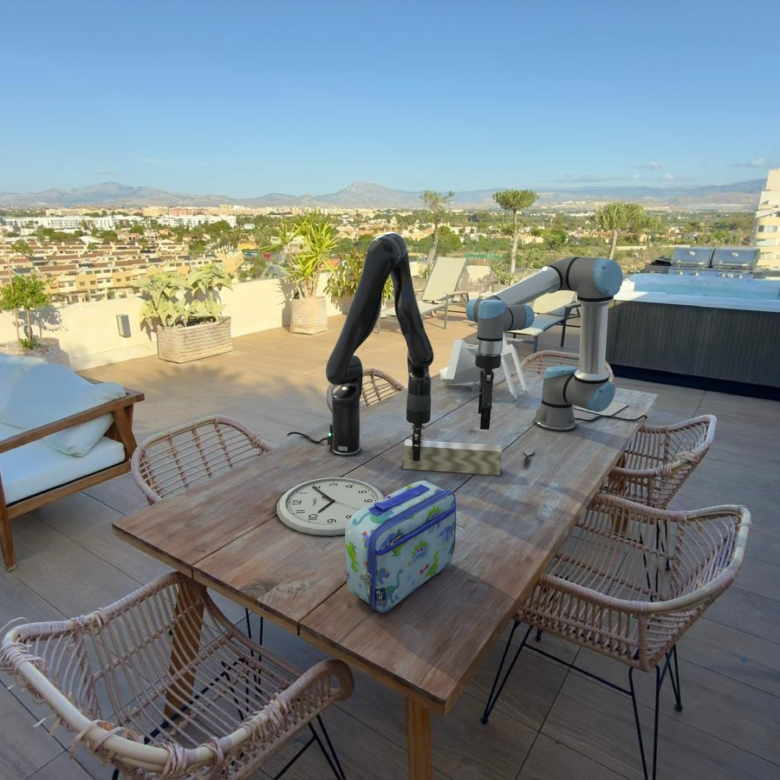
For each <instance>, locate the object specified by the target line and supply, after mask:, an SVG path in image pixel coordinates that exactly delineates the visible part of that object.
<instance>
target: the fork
mask: <svg viewBox="0 0 780 780" xmlns="http://www.w3.org/2000/svg"><path fill="white" fill-rule="evenodd" d="M533 451H534V446H530V445H528V444H526V446H525V450H524V454H525V455H526V456H525V458H524V466H523V467H524V468H526V466H527V464H528V462H529V456H531V455H533V453H534V452H533Z"/></svg>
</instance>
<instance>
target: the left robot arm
mask: <svg viewBox="0 0 780 780" xmlns="http://www.w3.org/2000/svg"><path fill="white" fill-rule="evenodd" d="M409 257H410V256H409V251H408V245H407V243H406V241H405V239H404V238H403V236H402V235H401V234H399V233H398V232H395V231H394V232H393V231H390V232H386V233H383V234H381V235H378V236H377V237H375V238H374V239H373V240H371V242H370V244H369V245H368V248H367V251H366V255H365V258H364V264H363V268H362V272H361V275H360V279H359V281H358V284H357V287H356V289H355V292H354V294H353V296H352V300H351V302H350V305H349V307H348V311H347V313H346V317H345V319H344V323H343V325H342V328H341V330H340V333H339V335H338V338H337V341H336V343H335V345H334V347H333V349H332V351H331V353H330V355H329V358H328V359H327V362H326V367H325V377H326V380H327V381H328V383H330V384H331V385H333V386H339V387H338V389H337V390H335V392H333V393H332V394H331V423H330V424H329V433H328V436H326V437H323V438H321V439H320V440H315V439H312V438H311V437H310V436H309V435H307V434H305V433H303V432H299V431H290V432H288V433H287V434H286V436H288V437H289V436H291V435H299V436H302V437H305V438H307V440H308V441H310V442H312V443H315V444H321V443H322V442H324V441H326V444H327V445H328V446H329V451H331V452H332V453H333V454H335V455H337V456H343V457H349V456H354V455H357V454H358V453H360V451H361V438H360V437H361V432H360V431H361V422H360V421H361V412H360V410H361V408H360V407H361V405H360V404H361V403H360V401H361V400H360V399H361V397H362V394H363V379H364V369H363V368H364V367H363V362H362V360H361V359H360V357H359V356H358V355H357V354H355V353H356V351H357V350H358V349H360V347H361V345H363V343H364V342H365V341H366V340H367V339H368V338H369V336H370V335H371V334H372V333H373V332H374V330H375V327H376V326H377V323H378V321H379V318H380V315H381V312H382V305H383V293H384V288H385V286H386V283H387V282H388V279H389V276H390V279H391V283H392V284H391V285H392V289H393V307H394V313H395V317H396V321H397V324H398V326H399V330H400V333H401V335H402V336H403V338H404V340H405V343H406V347H407V353H406V361H407V372H408V373H407V375H408V377H407V378H408V379H407V395H406V409H405V410H406V411H405V412H406V413H405V419H406V421H407V422H408V423H410V424H411V427H410V433H411V439H410V440H411V441H412V450H413V461H419V460H420V450H421V443H422V442H423V440H424V433H425V424H428V423H430V421H431V416H432V415H431V411H432V395H431V392H432V379H431V378H432V377H431V373H430V366H432V364H433V362H434V359H435V353H434V350H433V347H432V344H431V341H430V339H429V336H428V334H427V331H426V328H425V325H424V324H425V323H424V320H423V317H422V314H421V310H420V308H419V307H420V306H419V303H418V300H417V297H416V292H415V287H414V284H413V283H414V282H413V277H412V272H411V271H412V270H411V265H410V259H409ZM414 445H419V446H414Z"/></svg>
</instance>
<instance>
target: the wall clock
mask: <svg viewBox="0 0 780 780" xmlns="http://www.w3.org/2000/svg"><path fill="white" fill-rule="evenodd" d="M384 497H386V495H385V494H384V493H383V492H382V491H381V490H380V489H379V488H377V487H376V486H374V485H372V484H371V483H369V482H365V481H362V480H359V479H355V478H349V477H338V476H337V477H335V476H333V477H332V476H331V477H322V478H317V479H312V480H307V481H305V482H302V483H299V484H297V485H295V486H293V487H292V488H290V489H288V490H287V491H286V492H285V493H284V494H283V495H281V496H280V498H279V499H278V502H277V503H276V515H277V517H278V518H279V520H280V521H281V522H282V523H283V524H285V525H286V526H287V527H288V528H290V529H293V530H295V531H297V532H299V533H303V534H308V535H312V536H327V537H328V536H329V537H331V536H332V537H333V536H342V535H345V531H346V527H347V524H348V522H349V520H350V518H351V517H352V515H353V514H354V513H355V512H357V511H358V510H360V509H362V508H364V507H366V506H368V505H370V504H372V503H374V502H376V501H378V500H380V499H382V498H384Z"/></svg>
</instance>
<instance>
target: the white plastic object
mask: <svg viewBox="0 0 780 780" xmlns="http://www.w3.org/2000/svg"><path fill="white" fill-rule="evenodd" d="M476 346H477V345H473V346H469V345H468V343H466V342H465V340H464V339H463V338H460V339H458V338H454V340H453V344H452V349H451V353H450V357H449V362H448V366H446V367H444V368H442V369H440V370H439V371H438V372H439V376H440V381H442V383H443V384H444V385H445V386H449V385H458V384H467V383H468V384H469V383H473V384H477V383H480V371H482V368H479V367H477V366H476V365H475V355H476V353H478V352H477V351H476ZM500 355H501V366H502V370H503V373H504V376H505V380H506V383H507V386H508V390H509V393H510V394H511V395H512V397H513V398H514V399H515V400H517V392H516V391H517V390H516V388H515V385H514V381H513V378H512V375H511V371H510V369H509V365H508V361H510V360H513V363H514V366H515V369H516V372H517V376H518V380H519V382H520V385H521V389H522V391H523V393H524V395H525V396H526V397H528V396H531V395H530V390H529V388H528V387H529V386H528V384H527V381H526V378H525V375H524V371H523V369H522V368H523V367H522V366H521V362H520V359H519V355H518V352H517V349H516V347H515V346H514V345H513V343H511V344H508V341H507V337H506V334H505V332H503V345H502V353H501V354H500ZM495 370H496V369H495V368H494V369H492V372H494V371H495Z"/></svg>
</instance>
